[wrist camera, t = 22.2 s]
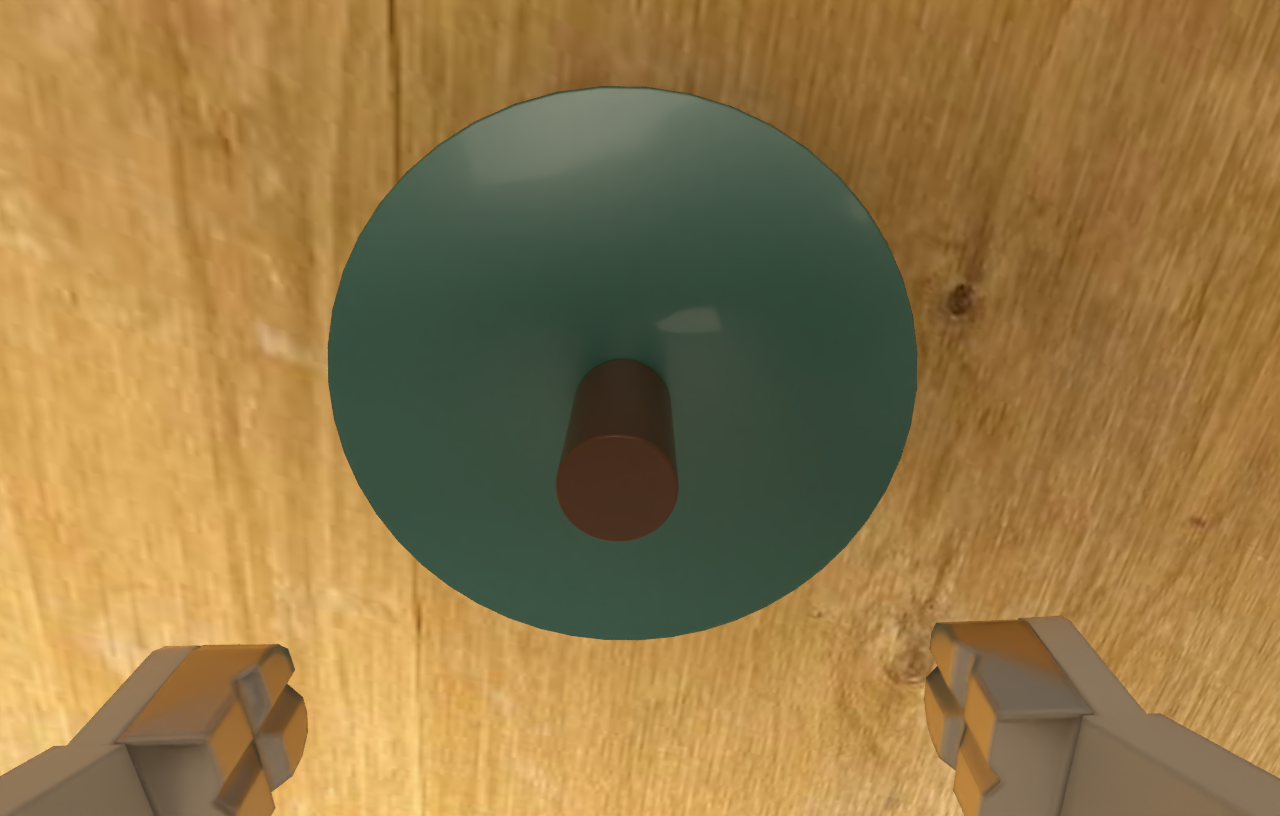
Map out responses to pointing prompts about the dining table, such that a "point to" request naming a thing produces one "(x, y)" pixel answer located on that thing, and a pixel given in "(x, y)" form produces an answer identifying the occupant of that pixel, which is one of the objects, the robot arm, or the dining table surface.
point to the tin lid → (622, 363)
